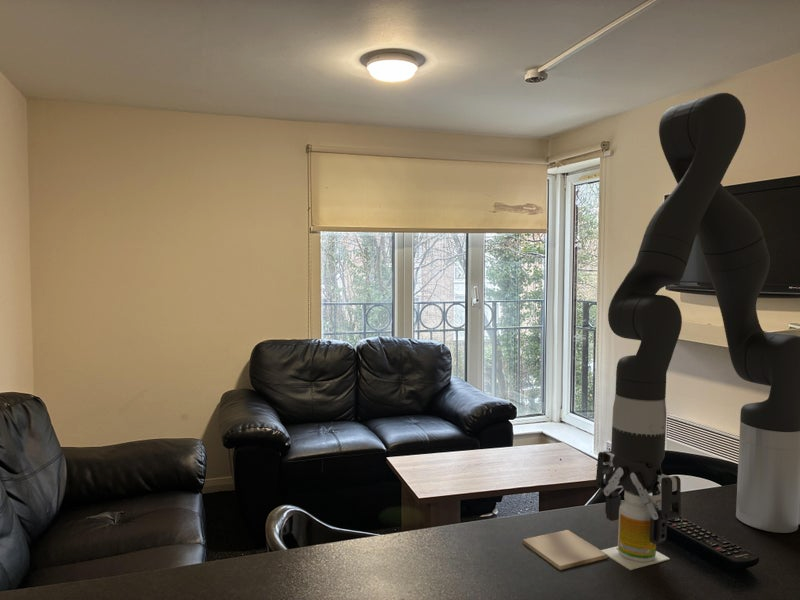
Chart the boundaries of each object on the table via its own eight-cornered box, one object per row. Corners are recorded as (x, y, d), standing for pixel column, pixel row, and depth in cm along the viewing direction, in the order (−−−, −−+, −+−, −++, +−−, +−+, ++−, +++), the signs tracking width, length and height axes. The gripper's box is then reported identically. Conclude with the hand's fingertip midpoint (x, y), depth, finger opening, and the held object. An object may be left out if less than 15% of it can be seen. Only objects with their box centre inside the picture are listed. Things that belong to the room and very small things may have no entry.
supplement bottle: (659, 564, 86) (661, 500, 85) (620, 560, 87) (623, 497, 86) (651, 547, 91) (653, 487, 90) (615, 544, 92) (617, 484, 91)
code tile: (638, 542, 93) (638, 541, 93) (669, 559, 88) (669, 558, 88) (600, 551, 90) (600, 550, 90) (630, 570, 84) (630, 568, 84)
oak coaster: (567, 533, 96) (567, 529, 96) (607, 558, 88) (607, 554, 88) (522, 543, 92) (522, 539, 92) (559, 570, 84) (560, 566, 84)
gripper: (697, 435, 83) (691, 546, 83) (621, 412, 96) (617, 509, 96) (659, 440, 80) (653, 556, 80) (586, 416, 93) (582, 515, 93)
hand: (633, 530), depth 88 cm, fingers open, 8 cm apart
